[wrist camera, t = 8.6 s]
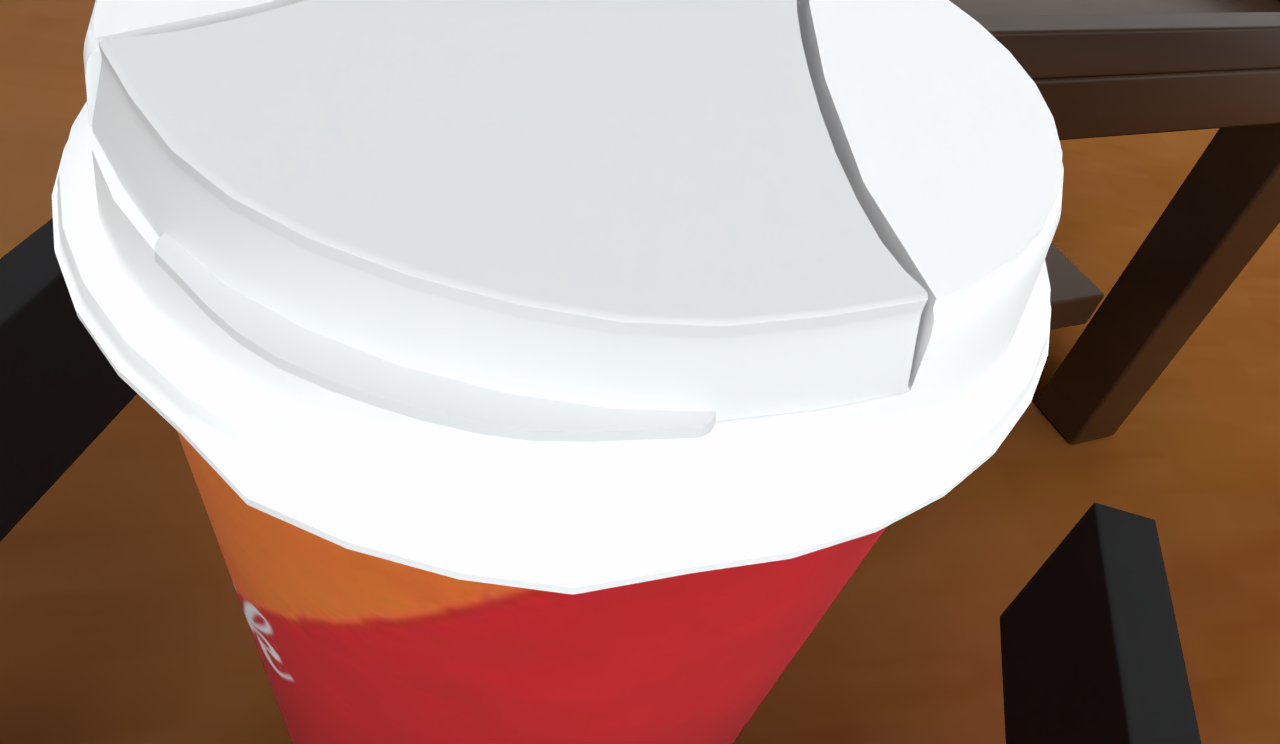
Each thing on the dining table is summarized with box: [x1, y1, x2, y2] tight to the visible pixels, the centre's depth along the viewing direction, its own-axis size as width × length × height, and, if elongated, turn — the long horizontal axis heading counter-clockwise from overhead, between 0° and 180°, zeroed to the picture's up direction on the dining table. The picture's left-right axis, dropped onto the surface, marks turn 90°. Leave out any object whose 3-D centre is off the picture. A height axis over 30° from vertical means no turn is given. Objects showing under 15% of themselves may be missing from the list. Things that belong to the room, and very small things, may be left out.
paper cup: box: [52, 0, 1064, 744], centre depth 12 cm, size 8×8×14 cm
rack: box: [949, 0, 1280, 444], centre depth 24 cm, size 16×13×12 cm
